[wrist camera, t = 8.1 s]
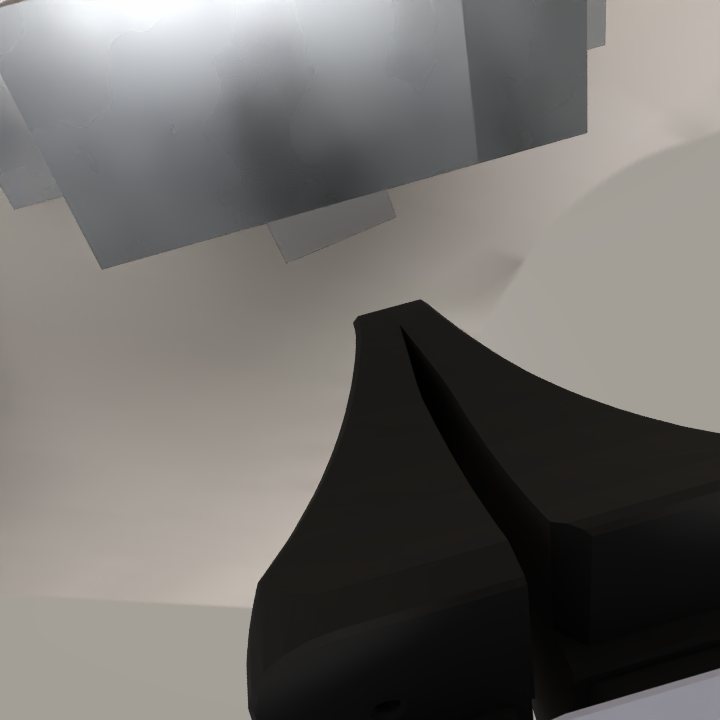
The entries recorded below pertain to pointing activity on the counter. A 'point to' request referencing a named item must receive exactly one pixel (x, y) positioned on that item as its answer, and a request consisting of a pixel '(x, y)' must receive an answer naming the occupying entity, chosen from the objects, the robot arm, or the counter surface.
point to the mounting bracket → (271, 104)
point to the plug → (329, 224)
